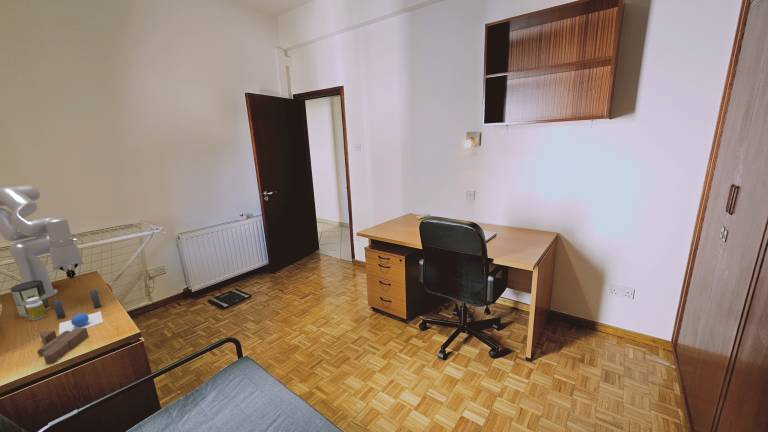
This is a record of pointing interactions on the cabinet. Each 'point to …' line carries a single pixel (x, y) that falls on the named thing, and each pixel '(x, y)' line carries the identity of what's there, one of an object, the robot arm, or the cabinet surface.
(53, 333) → the wooden block set
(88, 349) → the cabinet surface
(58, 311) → the post
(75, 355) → the cabinet surface
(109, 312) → the cabinet surface
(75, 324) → the ball
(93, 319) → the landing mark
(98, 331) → the cabinet surface
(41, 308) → the supplement bottle
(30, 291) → the coffee can
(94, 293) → the post
